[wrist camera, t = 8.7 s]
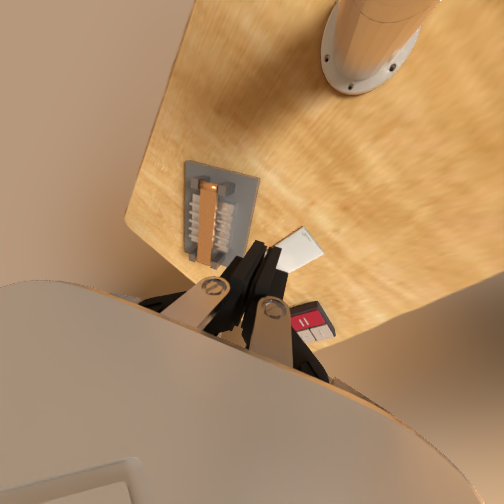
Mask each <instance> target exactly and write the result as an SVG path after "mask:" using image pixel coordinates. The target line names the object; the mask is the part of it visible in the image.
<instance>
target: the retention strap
mask: <svg viewBox="0 0 504 504" xmlns="http://www.w3.org/2000/svg"><path fill="white" fill-rule="evenodd" d="M217 194H218V185H217V184H213V183H210V182H206V181H201V182H200V209H199V230H198V250H197V262H199V263H202V264H205V265H208V266H211V261H212V252H213V242H214V232H215V221H216V211H217V201H218V195H217Z"/></svg>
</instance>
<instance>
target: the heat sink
mask: <svg viewBox="0 0 504 504" xmlns="http://www.w3.org/2000/svg"><path fill="white" fill-rule="evenodd" d="M201 181H206V182H210V177H209V176H205V175H202V176H197V177H191V188H193V189H197V190H198V189H200V182H201ZM234 192H235V183H232V182H226V183H223V184H220V185H218V194H217V195H218V196H222V197H226V196H229V195H231V194H233V193H234ZM189 205H192V210H190V211H189V213H190V214H192V218H190V219H189V222H192V225H191V226H190V227H189V229H190V230H192V233H190V234H189V237H191V241H194V242H197V243H198V230H199V209H200V192H197V193H193V201H192V202H190V203H189ZM237 206H238V203H236V202H232V201H229V200H225V199H222V198H218V201H217V211H216V221H215V232H214V242H213V248H215V249H218V250H221V251H224V252H228V251H229V250H230V249H231V245H232V238H233V232H234V225H235V219H236V213H237ZM197 250H198V247H197V248H196V249H194V250H193V251H192V252H190V253H189V260H190V261H193V262H195V261H196V260H197ZM225 255H226V253H223V252H219V253H218V254H217V255H216V257H215V258H214V259H213V260H212V261H211V267H210V268H213V269H217V268H218V267H219V266H220V265H221V264H222V262H223V261H224V260H225Z"/></svg>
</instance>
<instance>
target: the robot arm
mask: <svg viewBox="0 0 504 504" xmlns="http://www.w3.org/2000/svg"><path fill="white" fill-rule="evenodd" d="M440 2H441V0H338V2H337V3H336V5H335V6H334V8H333V10H332V12H331V14H330V16H329V18H328V20H327V23H326V26H325V29H324V33H323V38H322V43H321V65H322V70H323V73H324V75H325V78H326V80H327V81H328V83H329V84H330V85H331V86H332V87H333V88H334V89H335V90H337V91H338V92H340V93H343V94H347V95H359V94H364V93H367V92H369V91H372V90H374V89H376V88H377V87H379V86H381V85H382V84H384V83H385V82H386V81H387V80H388V79H389V78H391V77H392V76H393V75H394V74H395V73H396V72H397V71H398V69H399V68H400V67H401V66H402V64H403V63H404V62H405V61H406V59H407V58H408V56H409V54H410V53H411V51H412V49H413V47H414V45H415V43H416V41H417V38H418V36H419V33H420V29H421V26H422V23H423V22H424V21H425V20H426V19H427V17H428V16H429V15H430V14H431V13H432V11H433V10H434V9H435V8H436V6H437V5H438V4H439V3H440ZM326 59H328V62H325V60H326ZM390 68H392V69H393V70H392V71H389V69H390ZM348 87H351V90H348ZM266 249H267V246H265V245H264V243H263V242H260V241H257V240H255V242H254V243H253V245H252V246H251V248H250V249H249V250H248V252H247V253H246V255H245V256H244V258H243V257H240V256H236V257H235V258H234V259H233V261H232V262H231V263H230V264H229V266H228V267H227V268H226V270H225V271H224V272H223V273H222V275H221V276H220V277H216V276H211V277H206V278H204V279H202V280H201V281H200V282H198V283H197V284H196V285H195V286H193V287H192V288H191V289H190V290H188V291H184V292H179V293H174V294H169V295H164V296H159V297H154V298H149V299H146V300H144V301H141V298H136V297H130V296H124V295H118V294H112V293H107V292H104V291H101V290H98V289H94V288H91V287H88V286H84V285H80V284H76V283H70V282H64V281H51V280H34V281H33V280H32V281H23V282H17V283H13V284H9V285H6V286H3V287H0V504H485V502H484V501H483V499H482V498H481V496H480V495H479V494H478V492H477V491H476V489H475V488H474V487H473V485H472V484H471V483H470V482H469V480H468V479H467V478H466V477H465V476H464V474H463V473H462V472H461V471H460V470H459V469H458V468H457V467H456V466H455V465H454V464H453V463H452V462H451V461H450V460H449V459H448V458H447V457H446V456H445V455H444V454H443V453H441V452H440V451H439V450H438V449H437V448H436V447H435V446H434V445H432V444H431V443H430V442H429V441H427V440H426V439H425V438H424V437H422V436H421V435H420V434H418V433H417V432H416V431H415V430H413V429H412V428H411V427H409V426H408V425H406V424H405V423H403V422H402V421H400V420H399V419H397V418H396V417H395V416H393V415H392V414H391V413H390V412H389V411H387V410H386V409H384V408H383V407H381V406H379V405H378V404H377V403H375V402H373V401H372V400H370V399H369V398H367V397H366V396H364V395H362V394H361V393H359V392H358V391H356V390H355V389H353V388H352V387H350V386H348V385H347V384H345V383H344V382H342V381H341V380H339V379H337V378H336V377H334V378H333V379H332V378H330V377H329V376H328V375H327V373H326V371H325V369H324V368H323V366H322V365H321V364H320V362H319V361H318V360H317V358H316V357H315V356H314V354H313V353H312V352H311V350H310V349H309V348H308V346H307V345H306V344H305V343H304V341H303V340H302V339H301V337H300V336H299V335H298V333H297V332H296V331H295V329H294V328H293V327H292V325H291V316H290V309H289V307H288V305H287V304H286V303H285V302H284V301H283V296H284V291H285V287H286V282H287V277H288V272H285V271H282V270H279V269H276V267H277V264H278V260H279V257H280V254H281V251H282V248H279V247H276V246H273V248H272V247H269V249H268V251H267V253H266V255H265V252H266ZM264 256H265V257H264ZM244 312H245V313H244ZM243 314H244V317H243V321H242V325H241V328H243V331H242V337H243V339H244V341H245V343H246V347H245V348H243V347H241V346H238V345H236V344H233V343H231V342H229V341H226V340H223V339H221V338H220V337H221V335H222V332H225V331H228V330H230V331H232V330H233V327H234V325H235V326H238V325H239V323H240V321H241V319H242V316H243Z"/></svg>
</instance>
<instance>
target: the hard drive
mask: <svg viewBox="0 0 504 504" xmlns="http://www.w3.org/2000/svg"><path fill="white" fill-rule="evenodd" d="M275 246H276V247H279V248H282V251H281V254H280V257H279V260H278V264H277V267H276V269H279V270H282V271H285V272H288V274H289V273H291V272H293V271H295V270H296V269H298V268H300V267H302V266H304V265H306V264H307V263H309V262H311V261H313V260H315V259H316V258H318V257H320V256H322V255H324V254H325V252H324V251H323V250H322V248H321V247H320V246H319V244H318V243H317V242H316V241H315V239H314V238H313V237H312V236H311V234H310V233H309V232H308V230H307V229H306V228H305V227H304V226H303V227H301V228H300V229H298V230H297V231H295V232H294V233H292V234H291V235H289V236H288V237H286V238H285V239H283V240H282V241H280V242H279V243H278V244H276V245H275ZM272 248H273V247H272ZM267 251H268V250H267ZM267 251H266V252H265V255H266V253H267ZM264 257H265V256H264Z"/></svg>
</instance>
